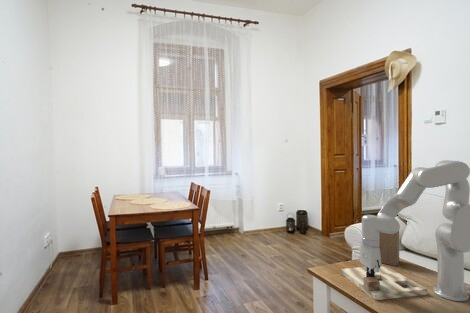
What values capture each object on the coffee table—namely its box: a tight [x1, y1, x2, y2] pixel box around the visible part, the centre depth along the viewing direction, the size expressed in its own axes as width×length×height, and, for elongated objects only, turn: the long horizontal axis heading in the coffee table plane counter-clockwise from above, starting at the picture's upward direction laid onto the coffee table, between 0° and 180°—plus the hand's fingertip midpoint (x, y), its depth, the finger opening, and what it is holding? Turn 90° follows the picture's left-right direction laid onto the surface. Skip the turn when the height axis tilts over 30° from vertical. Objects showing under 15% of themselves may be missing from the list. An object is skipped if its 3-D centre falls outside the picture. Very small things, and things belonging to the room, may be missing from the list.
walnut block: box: [364, 277, 380, 291], centre depth 131 cm, size 5×5×4 cm
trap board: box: [340, 264, 428, 301], centre depth 141 cm, size 26×28×2 cm
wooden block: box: [379, 230, 400, 267], centre depth 168 cm, size 10×10×20 cm
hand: (370, 280), depth 135 cm, fingers closed
